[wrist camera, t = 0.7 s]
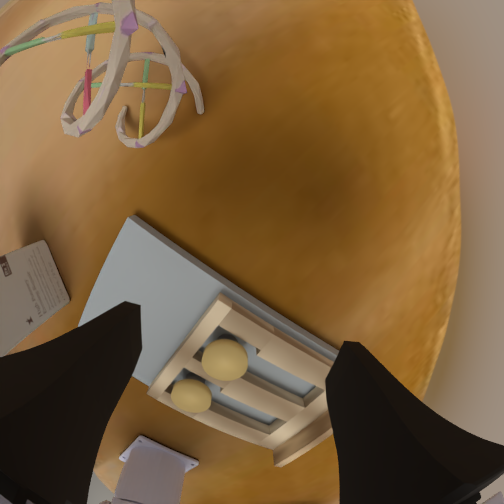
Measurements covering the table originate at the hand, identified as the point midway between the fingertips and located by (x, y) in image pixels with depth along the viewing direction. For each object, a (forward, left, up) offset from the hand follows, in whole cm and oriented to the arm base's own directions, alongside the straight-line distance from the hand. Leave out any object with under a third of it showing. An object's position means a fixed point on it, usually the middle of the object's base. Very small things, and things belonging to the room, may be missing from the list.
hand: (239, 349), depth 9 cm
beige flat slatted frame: (-8, -7, -9) cm, 13 cm away
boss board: (-8, -3, -10) cm, 13 cm away
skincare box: (-12, +14, -10) cm, 21 cm away
